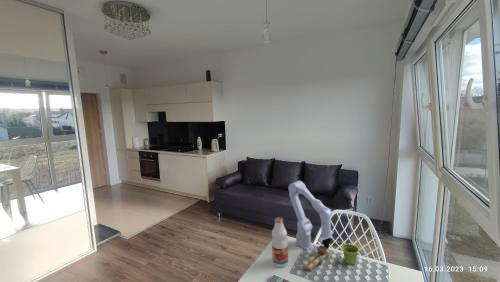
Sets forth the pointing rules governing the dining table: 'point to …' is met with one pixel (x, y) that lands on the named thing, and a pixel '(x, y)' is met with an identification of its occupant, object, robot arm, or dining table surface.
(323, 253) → the rider
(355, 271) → the dining table surface
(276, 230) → the fruit juice
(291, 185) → the robot arm
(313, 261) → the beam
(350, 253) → the plant pot
